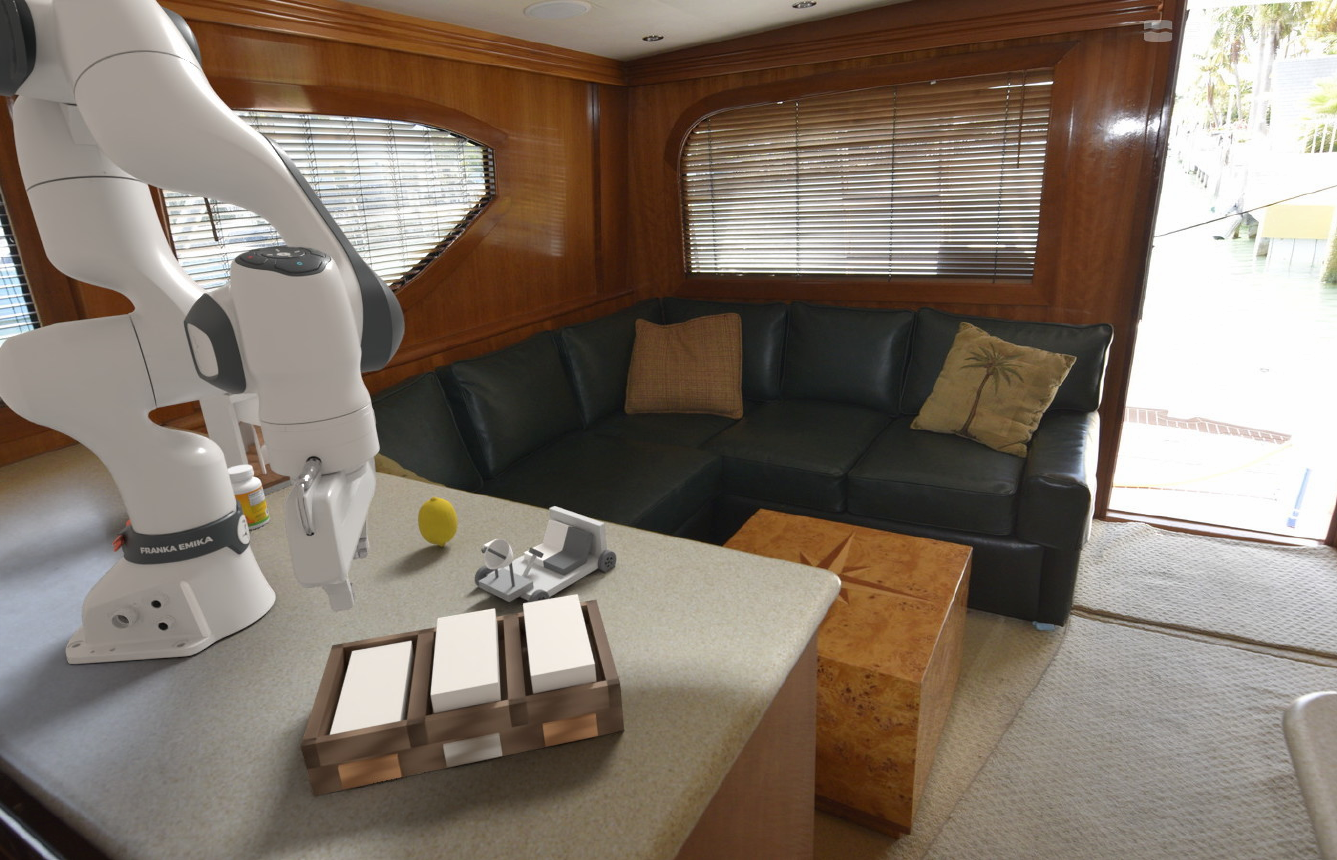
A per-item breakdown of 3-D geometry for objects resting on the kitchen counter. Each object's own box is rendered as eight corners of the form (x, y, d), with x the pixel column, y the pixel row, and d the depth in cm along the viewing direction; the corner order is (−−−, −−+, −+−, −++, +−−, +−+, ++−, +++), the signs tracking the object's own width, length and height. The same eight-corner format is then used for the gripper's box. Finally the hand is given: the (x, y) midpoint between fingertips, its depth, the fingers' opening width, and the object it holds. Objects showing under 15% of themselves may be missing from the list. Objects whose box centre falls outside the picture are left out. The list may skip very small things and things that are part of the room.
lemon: (450, 556, 108) (442, 505, 106) (415, 554, 110) (406, 504, 107) (467, 538, 114) (460, 490, 111) (434, 536, 115) (426, 488, 112)
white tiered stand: (255, 499, 133) (205, 302, 121) (223, 489, 138) (172, 299, 127) (313, 476, 142) (272, 291, 130) (281, 468, 147) (238, 289, 136)
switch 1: (334, 753, 67) (329, 735, 66) (355, 667, 79) (352, 651, 78) (403, 739, 68) (400, 721, 68) (414, 656, 80) (411, 640, 80)
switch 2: (434, 713, 68) (430, 695, 68) (440, 634, 80) (437, 618, 80) (500, 700, 70) (498, 682, 69) (497, 624, 82) (494, 608, 81)
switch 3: (533, 693, 70) (530, 676, 69) (525, 619, 82) (522, 603, 81) (596, 681, 71) (594, 663, 71) (579, 609, 83) (577, 594, 83)
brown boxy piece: (312, 798, 66) (299, 749, 65) (342, 688, 81) (332, 645, 79) (624, 732, 72) (620, 685, 70) (600, 640, 87) (596, 599, 85)
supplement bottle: (226, 529, 121) (211, 473, 118) (254, 515, 126) (240, 461, 123) (249, 533, 119) (235, 477, 116) (277, 519, 124) (264, 464, 121)
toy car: (507, 557, 87) (448, 532, 95) (516, 628, 91) (459, 599, 98) (612, 502, 100) (553, 484, 108) (617, 567, 104) (560, 545, 111)
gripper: (341, 479, 56) (374, 636, 60) (375, 403, 75) (398, 527, 79) (249, 491, 55) (290, 651, 59) (308, 410, 73) (335, 536, 78)
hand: (352, 579), depth 69 cm, fingers open, 8 cm apart
